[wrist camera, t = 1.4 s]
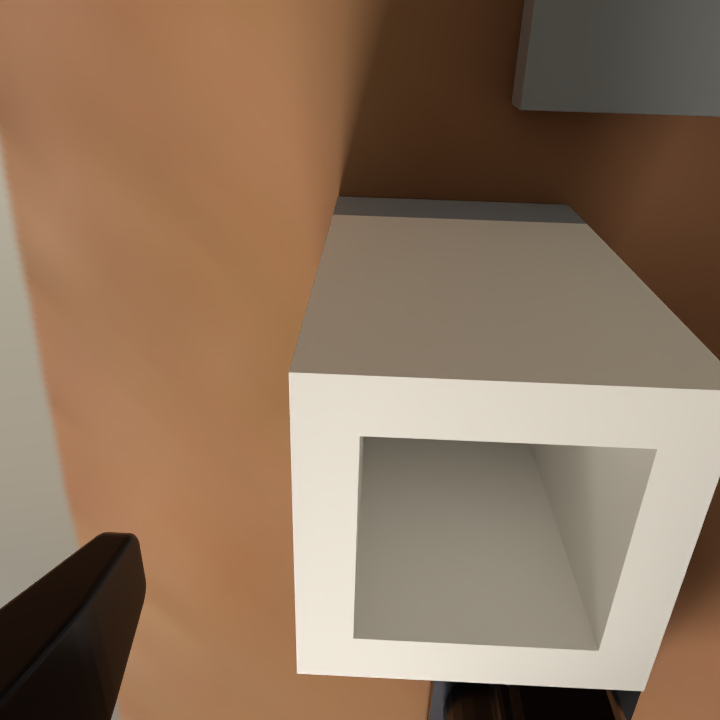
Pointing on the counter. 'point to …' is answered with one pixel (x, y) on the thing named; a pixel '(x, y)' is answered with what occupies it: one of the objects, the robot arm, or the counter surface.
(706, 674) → the counter surface
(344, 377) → the sleeve
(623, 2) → the pin board
